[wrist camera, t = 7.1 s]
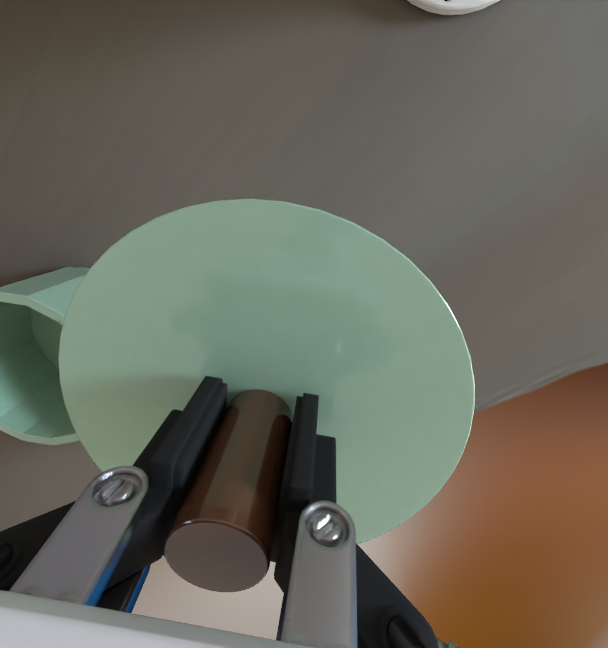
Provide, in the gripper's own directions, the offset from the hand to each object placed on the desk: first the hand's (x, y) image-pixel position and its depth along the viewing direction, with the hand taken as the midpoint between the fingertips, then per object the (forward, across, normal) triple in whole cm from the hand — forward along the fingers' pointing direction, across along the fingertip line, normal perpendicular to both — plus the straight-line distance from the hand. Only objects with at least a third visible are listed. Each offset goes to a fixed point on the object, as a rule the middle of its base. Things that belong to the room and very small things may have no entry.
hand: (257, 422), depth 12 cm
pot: (+21, +20, +10) cm, 30 cm away
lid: (+1, 0, 0) cm, 1 cm away
